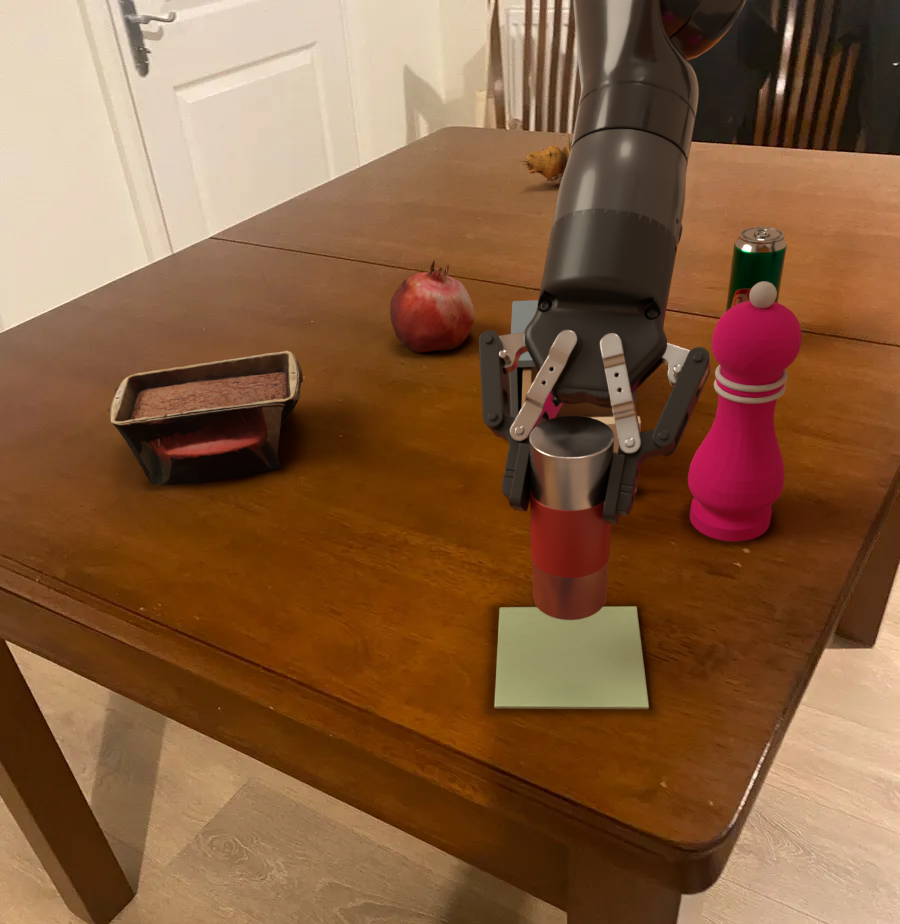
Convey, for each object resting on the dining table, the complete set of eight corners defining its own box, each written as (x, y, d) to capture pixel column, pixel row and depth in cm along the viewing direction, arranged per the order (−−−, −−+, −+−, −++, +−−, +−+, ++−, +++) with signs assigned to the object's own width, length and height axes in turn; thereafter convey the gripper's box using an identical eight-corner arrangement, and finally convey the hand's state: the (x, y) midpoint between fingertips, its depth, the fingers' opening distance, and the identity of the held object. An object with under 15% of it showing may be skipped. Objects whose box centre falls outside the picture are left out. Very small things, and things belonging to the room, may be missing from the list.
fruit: (377, 349, 105) (366, 262, 99) (441, 322, 109) (434, 237, 103) (427, 373, 99) (418, 282, 93) (492, 344, 104) (488, 256, 97)
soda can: (720, 357, 97) (735, 242, 90) (721, 336, 101) (735, 225, 93) (770, 358, 96) (789, 242, 88) (770, 338, 100) (787, 225, 92)
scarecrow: (555, 167, 155) (555, 116, 150) (645, 174, 148) (648, 121, 143) (505, 196, 145) (503, 142, 140) (599, 206, 137) (601, 149, 132)
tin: (605, 572, 62) (612, 413, 54) (609, 621, 58) (617, 457, 50) (532, 573, 62) (528, 415, 54) (531, 621, 58) (528, 459, 51)
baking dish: (163, 438, 97) (118, 356, 90) (325, 398, 95) (292, 311, 88) (142, 525, 86) (90, 440, 79) (323, 482, 85) (286, 390, 78)
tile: (636, 614, 67) (636, 605, 67) (648, 715, 60) (649, 706, 59) (499, 614, 68) (499, 606, 68) (494, 714, 61) (494, 706, 60)
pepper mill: (665, 527, 75) (688, 287, 62) (715, 489, 79) (746, 255, 66) (743, 562, 71) (785, 312, 58) (792, 520, 74) (842, 277, 62)
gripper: (483, 199, 53) (429, 486, 52) (740, 207, 49) (685, 520, 48) (511, 257, 60) (464, 511, 59) (737, 269, 56) (690, 542, 55)
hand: (564, 513), depth 54 cm, fingers closed on tin, 5 cm apart
